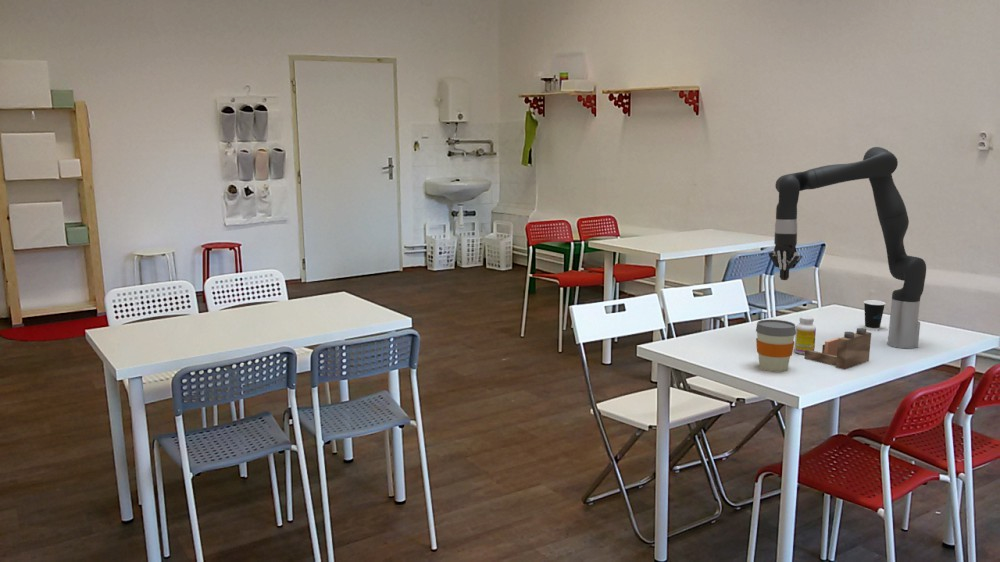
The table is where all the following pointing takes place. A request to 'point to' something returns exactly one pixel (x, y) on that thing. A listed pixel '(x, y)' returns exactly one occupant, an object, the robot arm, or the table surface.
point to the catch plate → (831, 347)
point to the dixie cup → (873, 314)
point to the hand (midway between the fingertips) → (784, 279)
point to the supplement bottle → (805, 335)
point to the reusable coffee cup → (775, 344)
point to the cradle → (846, 350)
